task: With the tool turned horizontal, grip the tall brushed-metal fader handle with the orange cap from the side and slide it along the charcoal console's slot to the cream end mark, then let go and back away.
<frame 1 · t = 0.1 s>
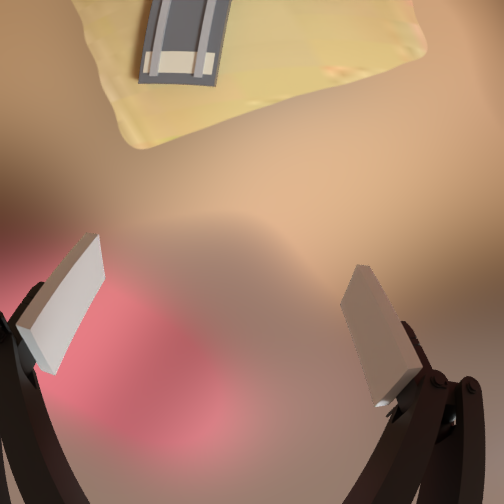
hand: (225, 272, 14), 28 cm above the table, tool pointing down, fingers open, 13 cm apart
console: (190, 15, 27), on the table
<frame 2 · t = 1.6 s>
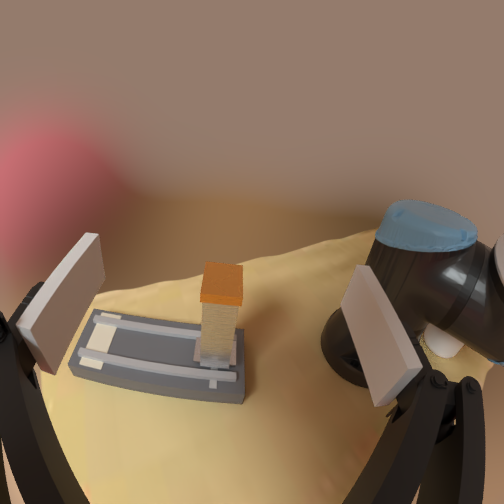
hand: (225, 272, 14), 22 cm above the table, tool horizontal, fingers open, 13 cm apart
mug: (432, 337, 43), on the table
fader: (218, 320, 29), point 9 cm above the table, slide at -7.0 cm
console: (159, 360, 33), on the table
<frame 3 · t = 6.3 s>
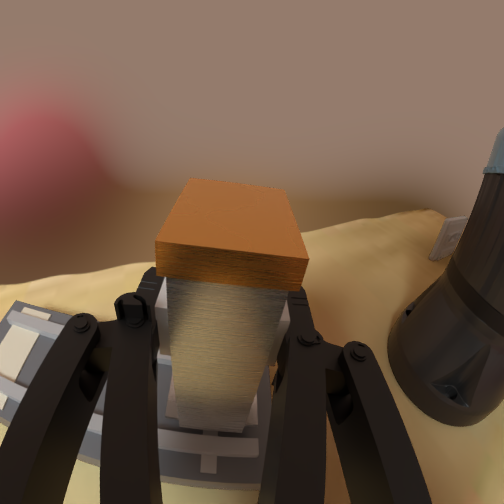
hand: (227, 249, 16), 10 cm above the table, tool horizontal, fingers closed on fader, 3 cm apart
cassette: (441, 255, 44), on the table
fader: (219, 333, 11), point 9 cm above the table, slide at -7.0 cm, touching gripper
console: (108, 400, 15), on the table
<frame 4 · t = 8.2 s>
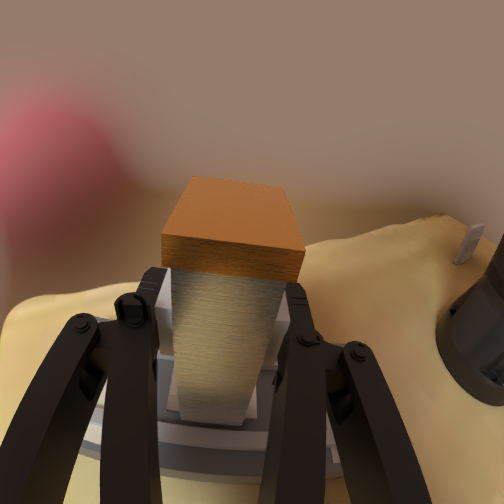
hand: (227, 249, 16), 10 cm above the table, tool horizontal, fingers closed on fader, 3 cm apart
cassette: (462, 259, 45), on the table
fader: (220, 326, 12), point 9 cm above the table, slide at 0.2 cm, touching gripper
console: (213, 413, 16), on the table
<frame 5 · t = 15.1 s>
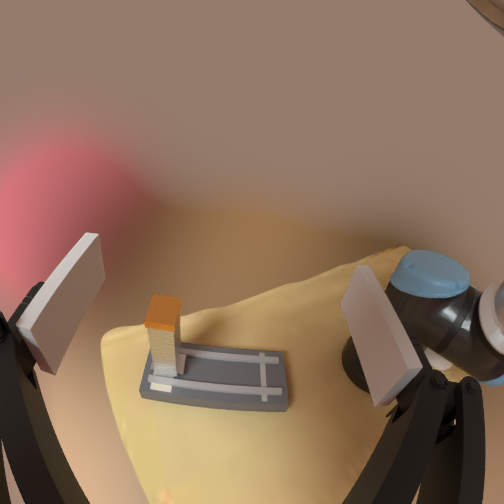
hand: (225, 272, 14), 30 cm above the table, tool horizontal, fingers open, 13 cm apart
mug: (431, 352, 50), on the table
fader: (165, 339, 35), point 9 cm above the table, slide at 7.0 cm
console: (215, 380, 40), on the table
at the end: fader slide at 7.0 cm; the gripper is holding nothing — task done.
